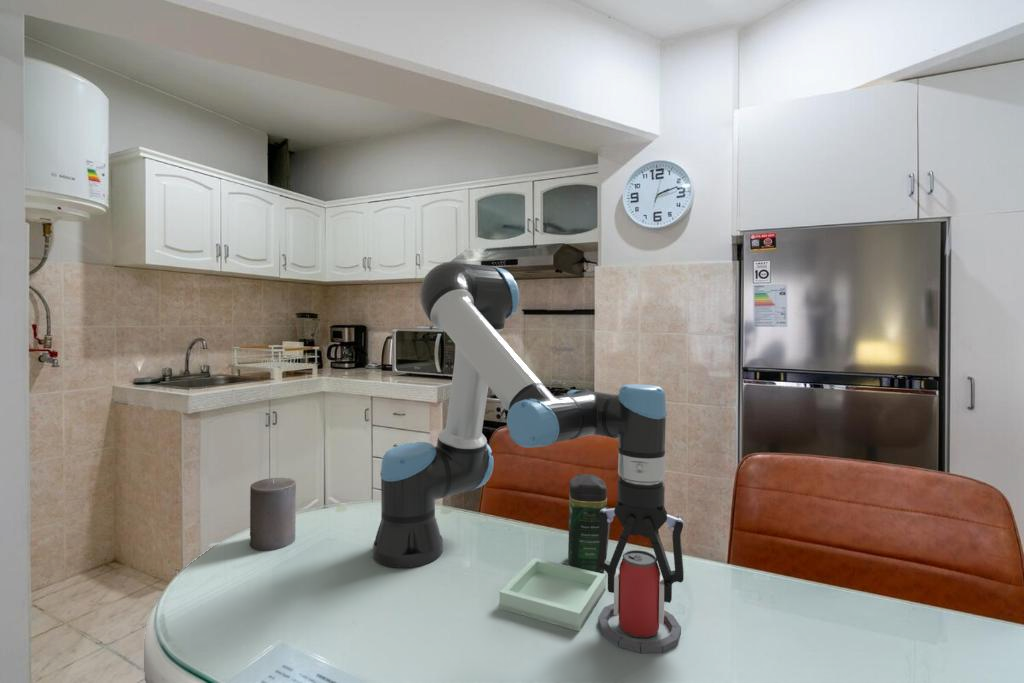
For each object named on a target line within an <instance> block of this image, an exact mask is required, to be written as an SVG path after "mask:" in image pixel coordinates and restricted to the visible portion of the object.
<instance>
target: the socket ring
mask: <svg viewBox="0 0 1024 683" xmlns="http://www.w3.org/2000/svg"><path fill="white" fill-rule="evenodd" d="M611 616H615V615H614V602H613V603H611V604H608V605H605V606H604V607H603V608H602V610H601V612H600V614H599V615H598V620H597V623H598V626H599V628H600V632H601V634H602V636H603V637H605V638H606V639H607V640H609V641H611V643H613V644H614V645H616V646H617V647H619V648H620V649H625V650H629V651H632V652H635V653H639V654H656V653H658V654H659V653H661V654H662V653H665V652H667V651H668V650H671V649H673V648H675V647H677V646H678V645H679V643H680V639H681V635H682V626H681V625H680V623H679V622H678V620H677V619H676V618H675V615H673V614H672V613H670V612H668V611H666V610H665V609H664V622H665V623H666V624H667V626H668V628H669V630H670V632H669V635H668V636H665V637H663V638H661V639H659V640H651V641H639V640H636V639H633V638H629V637H626V636H623V635H621V634H620V633H619V632H617V631H616V630H614V629H613V628H611V625H610V624H609V621H610V618H611Z"/></svg>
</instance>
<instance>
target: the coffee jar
mask: <svg viewBox="0 0 1024 683" xmlns="http://www.w3.org/2000/svg"><path fill="white" fill-rule="evenodd" d="M568 493H569V495H568V496H569V497H568V498H569V501H568V503H569V504H568V506H569V508H568V510H569V511H568V543H567V544H568V545H567V546H568V550H567V552H568V553H567V554H568V555H567V556H568V558H567V560H568V566H571V567H576V568H580V569H584V570H589V571H593V572H597V573H601V572H603V571H604V570H603V569H602V570H600V569H598V568H597V559H598V550H599V541H600V532H601V523H600V519H599V513H600V511H601V509H602V508H603V507H606V508H607V509H608V494H607V493H608V489H607V484H606V482H605V481H604V479H602V478H600V477H599V476H598V475H596V474H589V473H588V474H587V473H586V474H585V473H579V474H577V475H575V476H573V477H572V478H571V480H570V481H569V492H568Z"/></svg>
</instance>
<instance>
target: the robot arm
mask: <svg viewBox="0 0 1024 683" xmlns="http://www.w3.org/2000/svg"><path fill="white" fill-rule="evenodd" d="M419 298H420V304H421V307H422V310H423V313H424V314H425V316H426V317H427V319H428V320H429V321H430V323H432V325H433V326H434V327H435V328H436V329H438V330H441V331H444V332H445V333H446V335H447V336H448V337H449V339H451V341H452V342H453V343H454V344H455V346H456V347H455V355H454V356H455V357H454V363H453V371H452V378H451V379H452V380H451V385H450V394H449V401H448V406H447V407H448V408H447V416H446V424H445V428H444V429H442V430H441V431H440V432H439V433H438V434H437V435H438V436H437V441H436V446H435V445H434V444H432V443H431V442H425V441H416V442H407V443H402V444H400V445H397V446H394V447H392V448H390V449H389V450H387V451H386V452H385V454H384V455H383V456H382V459H381V467H380V482H381V483H380V486H381V487H380V489H381V490H380V493H381V497H380V498H381V499H380V503H381V504H380V506H381V507H380V508H381V509H380V511H381V519H380V522H379V527H378V529H377V532H376V536H375V539H374V541H373V545H372V558H373V560H374V561H376V563H378V564H380V565H383V566H385V567H390V568H405V569H406V568H414V567H415V568H416V567H419V566H423V565H427V564H428V563H431V562H433V561H435V560H437V559H438V558H439V557H440V556H441V555H442V554H443V550H444V549H443V548H444V547H443V546H444V545H443V544H444V541H443V537H442V535H441V532H440V528H439V525H438V522H437V521H438V520H437V519H436V518H437V517H436V501H437V500H440V499H444V498H447V497H450V496H454V495H457V494H461V493H468V492H469V493H470V492H471V491H472V492H473V491H474V490H476V489H478V488H481V487H483V486H484V485H486V483H488V481H489V480H490V478H491V477H492V474H493V470H494V466H495V465H494V463H495V462H494V461H495V460H494V456H493V455H492V453H493V451H492V448H491V447H490V445H489V444H488V440H487V437H486V436H485V434H483V428H484V427H483V426H484V420H485V412H486V405H487V399H488V394H489V393H488V391H489V389H490V390H491V391H492V392H493V394H494V395H495V397H496V398H497V399H498V400H499V402H501V404H502V405H503V407H505V409H506V410H507V411H508V412H507V416H506V426H507V428H508V430H509V436H510V438H511V439H512V441H513V442H515V444H516V445H518V446H520V447H523V448H526V449H528V448H529V449H530V448H538V447H539V448H540V447H542V448H543V447H547V446H550V445H553V444H557V443H560V442H565V441H570V440H575V439H580V438H584V437H588V436H589V437H590V436H592V435H593V436H602V437H607V438H612V439H617V441H618V456H617V457H618V459H617V461H618V463H617V465H618V466H617V474H618V476H619V478H618V479H617V502H616V505H615V507H613V508H608V507H607V508H606V507H603V508H602V509H601V511H600V513H599V519H600V523H601V532H600V541H599V550H598V559H597V568H598V569H600V570H602V569H603V571H604V572H606V573H607V574H606V575H607V592H608V593H611V594H613V603H614V615H613V616H618V617H619V568H618V565H619V564H620V563H619V562H620V561H621V558H622V556H623V554H624V550H625V548H626V545H627V543H628V540H629V537H630V536H642V537H644V538H648V539H649V542H650V544H651V546H652V549H653V552H654V556H655V557H656V558H657V564H658V567H659V570H660V574H661V575H660V582H659V625H664V622H665V621H664V610H665V603H669V604H670V603H671V602H672V600H673V599H672V598H673V597H672V596H673V592H672V591H673V584H674V583H677V582H678V583H682V582H684V579H685V577H684V560H683V547H682V531H683V528H684V519H683V517H682V516H679V515H678V516H676V517H675V516H673V515H671V514H668V512H667V510H666V507H665V485H666V484H665V482H664V481H663V480H664V479H665V478H666V451H665V450H666V448H665V447H666V421H667V419H666V418H667V416H668V413H667V405H666V392H665V390H664V389H663V388H662V387H661V386H658V385H655V384H654V385H653V384H639V383H638V384H636V383H634V384H632V383H629V384H624V385H622V386H620V388H619V389H618V390H619V393H618V394H614V393H607V392H606V393H605V392H599V391H592V390H590V389H571V390H568V391H567V392H566V393H565V394H564V395H554V394H553V393H552V392H551V391H550V390H549V389H548V388H547V386H546V385H544V383H543V382H542V381H541V380H540V379H539V377H538V376H537V375H536V374H535V372H533V371H532V370H531V368H529V366H528V365H527V364H526V362H524V361H523V359H522V358H521V357H520V355H518V354H517V353H516V352H515V350H514V349H513V348H512V347H511V346H510V345H509V343H508V342H507V341H506V340H505V339H504V338H503V336H501V335H500V333H501V332H502V331H503V330H504V328H505V323H506V320H507V319H509V318H511V317H512V316H513V315H514V313H516V311H517V310H518V307H519V305H520V304H519V303H520V291H519V287H518V283H517V281H516V280H515V278H514V276H513V275H512V274H511V273H510V271H508V270H507V269H504V268H501V267H497V266H493V265H485V264H483V265H482V264H471V263H464V262H457V261H456V262H455V261H450V262H447V261H446V262H443V263H440V264H437V265H436V266H434V267H432V268H431V269H430V270H429V271H428V273H426V275H425V276H424V278H423V280H422V283H421V286H420V291H419ZM614 517H616V518H617V519H618V521H619V523H620V524H621V526H622V527H623V529H622V530H621V534H620V536H619V539H618V541H617V544H616V546H615V550H614V552H613V555H612V557H611V559H610V561H609V560H608V559H607V555H608V549H609V548H608V547H609V540H610V539H609V538H610V528H611V523H612V522H613V520H614ZM665 523H667V525H668V529H669V530H670V531H671V532H672V538H671V539H672V549H673V551H672V552H673V560H674V561H673V563H674V564H673V565H674V570H671V567H670V563H669V561H668V558H667V554H666V551H665V549H664V545H663V542H662V540H661V535H660V532H659V530H660V529H661V527H662V526H663V525H664V524H665ZM617 568H618V569H617Z"/></svg>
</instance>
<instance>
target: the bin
mask: <svg viewBox="0 0 1024 683" xmlns="http://www.w3.org/2000/svg"><path fill="white" fill-rule="evenodd" d="M606 576H607V574H605V573H601V572H593V571H589V570H584V569H580V568H576V567H571V566H570V565H566V564H562V563H558V562H554V561H550V560H544V559H540V558H536V557H534V558H532V559H531V560H530V561H529V562H528V563H527V564H526V565H525V566H524V567H523V568H522V569H521V570H520V571H519V572H518V573H517V574H516V575H515V576H514V577H513V578H512V579H511V580H509V582H507V584H506V585H505V586H504V587H502V589H501V590H500V591H499V609H501V610H503V611H507V612H512V613H514V614H518V615H521V616H524V617H528V618H532V619H535V620H539V621H542V622H545V623H549V624H553V625H556V626H559V627H564V628H566V629H570V630H574V631H576V632H581V630H582V628H583V626H584V625H585V623H586V622H587V621H588V619H589V618H590V616H591V614H592V613H593V611H594V609H595V607H596V606H597V604H598V603H599V601H600V600H601V598H602V597H603V594H604V593H605V592H606V580H607V579H606V578H607V577H606Z"/></svg>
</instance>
